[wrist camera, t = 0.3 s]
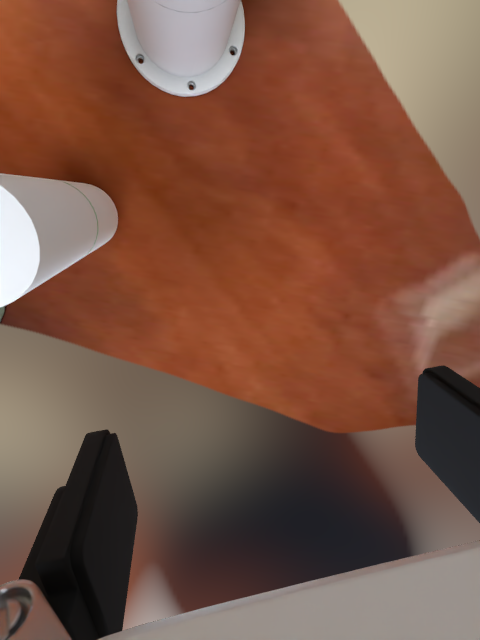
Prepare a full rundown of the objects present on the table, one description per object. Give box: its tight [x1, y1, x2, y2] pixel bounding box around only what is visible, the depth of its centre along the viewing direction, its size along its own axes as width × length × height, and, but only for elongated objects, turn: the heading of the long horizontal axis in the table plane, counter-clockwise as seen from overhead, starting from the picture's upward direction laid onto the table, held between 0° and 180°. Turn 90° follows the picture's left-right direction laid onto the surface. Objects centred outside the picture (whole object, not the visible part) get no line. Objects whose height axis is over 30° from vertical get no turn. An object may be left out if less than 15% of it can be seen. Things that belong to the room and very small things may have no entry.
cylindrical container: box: [0, 173, 118, 307], centre depth 30 cm, size 7×7×25 cm
